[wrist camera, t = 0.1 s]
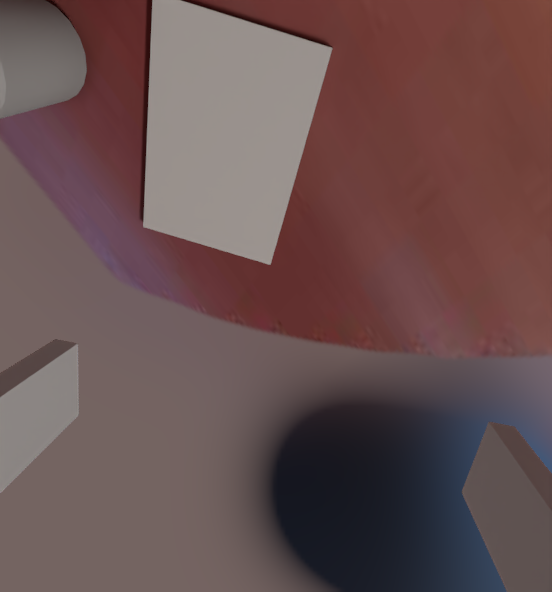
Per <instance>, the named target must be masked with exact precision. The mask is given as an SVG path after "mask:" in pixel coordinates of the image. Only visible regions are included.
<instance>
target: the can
mask: <svg viewBox="0 0 552 592" xmlns="http://www.w3.org/2000/svg"><path fill="white" fill-rule="evenodd" d="M86 72H87V69H86V57H85V52H84V49H83V46H82V43H81V40H80V37H79V36H78V34H77V32H76V31H75V29H74V27H73V26H72V24H71V22H70V21H69V20H68V19H67V18H66V17H65V16H64V15H63V13H62V12H61V11H60V10H59V9H58V8H57V7H55V6H54V5H52V4H51V3H49V2H47V1H46V0H0V119H1V118H4V117H8V116H12V115H15V114H19V113H23V112H27V111H30V110H34V109H38V108H41V107H45V106H49V105H52V104H56V103H60V102H63V101H67V100H69V99H71V98H72V97H74V96H76V95H77V94H78V93H79V91H80V90H81V88H82V86H83V85H84V81H85V76H86Z"/></svg>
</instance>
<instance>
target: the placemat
mask: <svg viewBox="0 0 552 592" xmlns="http://www.w3.org/2000/svg"><path fill="white" fill-rule="evenodd" d="M331 52H332V47H329V46H326V45H323V44H320V43H317V42H313V41H310V40H307V39H304V38H301V37H297V36H294V35H291V34H288V33H285V32H282V31H278V30H275V29H272V28H269V27H266V26H262V25H259V24H256V23H253V22H250V21H247V20H243V19H240V18H237V17H234V16H231V15H227V14H224V13H221V12H218V11H215V10H212V9H208V8H205V7H202V6H199V5H196V4H192V3H189V2H186V1H183V0H152V22H151V47H150V72H149V97H148V122H147V147H146V172H145V197H144V221H143V227H146V228H149V229H152V230H156V231H159V232H162V233H166V234H169V235H172V236H176V237H179V238H182V239H186V240H189V241H192V242H196V243H199V244H202V245H206V246H209V247H212V248H216V249H219V250H222V251H226V252H229V253H232V254H236V255H239V256H242V257H246V258H249V259H252V260H256V261H259V262H262V263H266V264H269V265H270V264H271V261H272V258H273V254H274V251H275V247H276V244H277V240H278V237H279V233H280V230H281V226H282V223H283V219H284V216H285V212H286V209H287V205H288V202H289V198H290V195H291V191H292V188H293V184H294V181H295V177H296V174H297V170H298V167H299V163H300V160H301V156H302V153H303V149H304V146H305V143H306V139H307V136H308V132H309V129H310V125H311V122H312V118H313V115H314V111H315V108H316V104H317V101H318V97H319V94H320V90H321V87H322V83H323V80H324V76H325V73H326V69H327V66H328V62H329V59H330V55H331Z"/></svg>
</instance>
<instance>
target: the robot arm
mask: <svg viewBox="0 0 552 592" xmlns="http://www.w3.org/2000/svg"><path fill="white" fill-rule="evenodd" d="M78 403H79V399H78V344H77V343H73V342H67V341H62V340H57V339H55V340H53V341H52V342H50V343H48V344H47V345H45V346H44V347H42V348H40V349H39V350H37V351H35V352H34V353H32V354H30V355H29V356H27V357H26V358H24V359H22V360H21V361H19V362H17V363H16V364H15V365H13V366H11V367H9V368H8V369H6V370H5V371H3V372H1V373H0V493H1V492H2V491H3V490H4V489H5V488H6V487H7V486H8V485H9V484H10V483H11V482H12V481H13V480H14V479H15V478H16V477H17V476H18V475H19V474H20V473H21V472H22V471H23V470H24V469H25V468H26V467H27V466H28V465H29V464H30V463H31V462H32V461H33V460H34V459H35V458H36V457H37V456H38V455H39V454H40V453H41V452H42V451H43V450H44V449H45V448H46V447H47V446H48V445H49V444H50V443H51V442H52V441H53V440H54V439H55V438H56V437H57V436H58V435H59V434H60V433H61V432H62V431H63V430H64V429H65V428H66V427H67V426H68V425H69V424H70V423H71V422H72V421H73V420H74V419H75V418H76V417H77V416H78V415H79V404H78ZM462 494H463V496H464V498H465V501H466V503H467V505H468V507H469V509H470V512H471V514H472V516H473V518H474V520H475V522H476V525H477V527H478V529H479V531H480V533H481V536H482V538H483V540H484V542H485V544H486V547H487V549H488V551H489V553H490V555H491V557H492V560H493V562H494V564H495V566H496V568H497V571H498V572H499V575H500V577H501V579H502V582H503V584H504V586H505V588H506V590H507V592H552V474H551V472H550V471H549V470H548V469H547V467H546V466H545V465H544V463H543V462H542V461H541V460H540V458H539V457H538V456H537V455H536V453H535V452H534V451H533V450H532V448H531V447H530V446H529V444H528V443H527V442H526V441H525V439H524V438H523V437H522V436H521V434H520V433H519V432H518V431H517V429H516V428H515V427H513V426H508V425H503V424H498V423H493V422H489V423H488V426H487V428H486V430H485V433H484V436H483V438H482V441H481V443H480V446H479V449H478V451H477V454H476V457H475V459H474V462H473V464H472V467H471V469H470V472H469V475H468V477H467V480H466V482H465V485H464V487H463V490H462Z"/></svg>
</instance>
